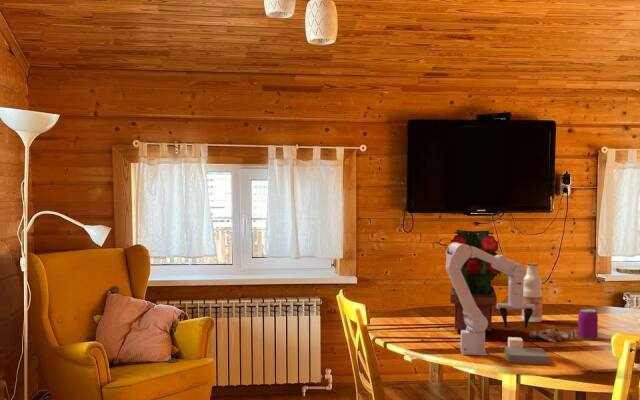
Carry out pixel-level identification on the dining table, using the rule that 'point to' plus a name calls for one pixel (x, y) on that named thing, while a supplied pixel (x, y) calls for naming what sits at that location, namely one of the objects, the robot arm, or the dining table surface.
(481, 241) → the potted plant
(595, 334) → the beverage can
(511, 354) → the plinth
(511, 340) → the cube
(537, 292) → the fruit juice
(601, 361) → the dining table surface
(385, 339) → the dining table surface
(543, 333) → the figurine
